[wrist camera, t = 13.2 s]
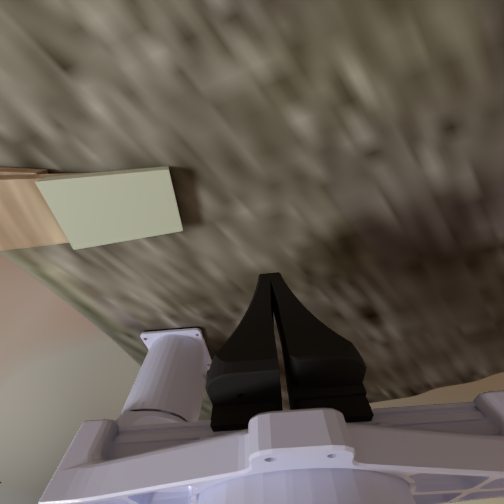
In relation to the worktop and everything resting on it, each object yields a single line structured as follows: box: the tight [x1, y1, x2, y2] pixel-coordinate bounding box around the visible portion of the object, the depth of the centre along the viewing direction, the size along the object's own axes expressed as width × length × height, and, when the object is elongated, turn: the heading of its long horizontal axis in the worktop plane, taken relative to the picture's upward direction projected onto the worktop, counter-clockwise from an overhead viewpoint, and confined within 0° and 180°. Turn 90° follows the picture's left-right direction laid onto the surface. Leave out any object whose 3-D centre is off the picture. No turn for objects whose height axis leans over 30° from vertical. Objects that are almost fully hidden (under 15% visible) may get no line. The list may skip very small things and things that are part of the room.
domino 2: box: [35, 166, 183, 250], centre depth 16 cm, size 2×5×8 cm
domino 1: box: [0, 172, 96, 251], centre depth 16 cm, size 2×5×8 cm
